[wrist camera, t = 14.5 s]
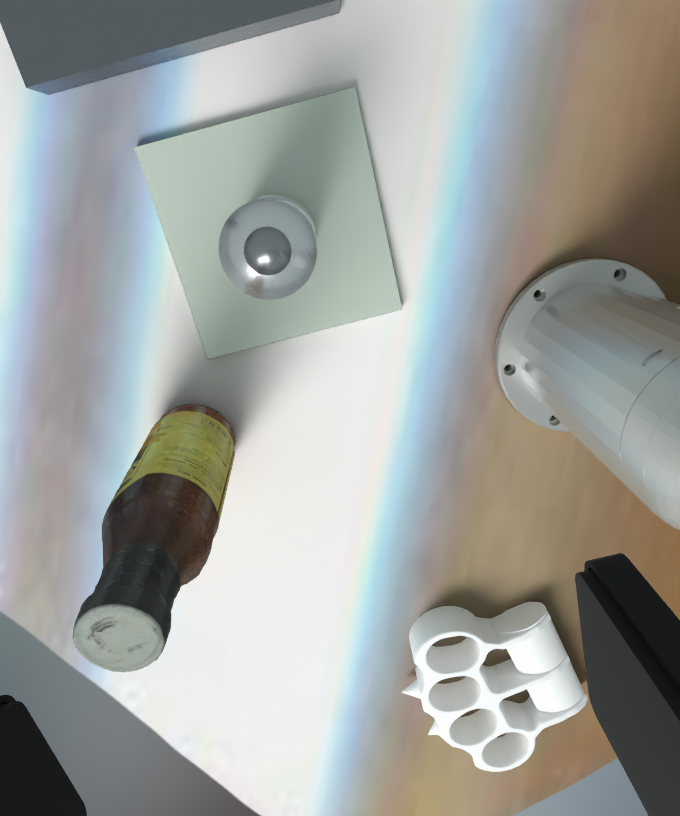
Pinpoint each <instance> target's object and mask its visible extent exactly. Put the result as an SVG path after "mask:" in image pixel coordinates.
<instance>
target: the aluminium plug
mask: <svg viewBox="0 0 680 816" xmlns="http://www.w3.org/2000/svg"><path fill="white" fill-rule="evenodd" d="M219 258H220V261H221V265H222V267H223V270H224V272H225V273H226V275H227V277H228V278H229V280H230V281H231V282H232V283H233V284H234V285H235V286H236V287H237V288H238V289H239V290H241V291H242V292H244V293H246V294H248V295H250V296H252V297H255V298H259V299H264V300H275V299H281V298H284V297H287V296H289V295H291V294H293V293H295V292H296V291H298V290H299V289H300V288H301V287H302V286H303V285H304V284H305V283H306V282H307V281H308V279H309V278H310V276H311V274H312V272H313V270H314V267H315V263H316V258H317V245H316V230H315V224H314V221H313V218H312V216H311V214H310V213H309V211H308V209H307V208H306V207H305V206H304V205H303V204H302V203H301V202H300V201H298V200H297V199H295V198H293V197H291V196H288V195H285V194H279V193H273V194H267V195H264V196H261V197H259V198H257V199H255V200H252V201H250V202H248V203H246V204H244V205H242V206H241V207H239V208H238V209H236V210H235V211H234V212H233V213H232V214H231V215H230V216H229V218H228V219H227V220H226V222H225V224H224V226H223V228H222V231H221V234H220V238H219Z"/></svg>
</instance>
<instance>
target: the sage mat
mask: <svg viewBox="0 0 680 816" xmlns="http://www.w3.org/2000/svg"><path fill="white" fill-rule="evenodd" d="M134 148H135V151H136V154H137V157H138V160H139V163H140V165H141V168H142V171H143V174H144V177H145V180H146V183H147V186H148V189H149V191H150V194H151V197H152V200H153V203H154V206H155V209H156V212H157V214H158V217H159V220H160V223H161V226H162V229H163V232H164V235H165V237H166V240H167V243H168V246H169V249H170V252H171V255H172V258H173V261H174V263H175V266H176V269H177V272H178V275H179V278H180V281H181V284H182V286H183V289H184V292H185V295H186V298H187V301H188V304H189V307H190V309H191V312H192V315H193V318H194V321H195V324H196V327H197V330H198V333H199V335H200V338H201V341H202V344H203V347H204V350H205V353H206V356H207V358H208V359H211V358H215V357H218V356H222V355H226V354H230V353H234V352H238V351H242V350H246V349H250V348H254V347H258V346H262V345H265V344H269V343H273V342H277V341H281V340H285V339H289V338H293V337H297V336H301V335H305V334H308V333H312V332H316V331H320V330H324V329H328V328H332V327H336V326H340V325H344V324H348V323H351V322H355V321H359V320H363V319H367V318H371V317H375V316H379V315H383V314H387V313H391V312H394V311H398V310H402V306H401V301H400V296H399V292H398V287H397V282H396V277H395V273H394V268H393V263H392V258H391V254H390V249H389V244H388V239H387V235H386V230H385V225H384V221H383V216H382V211H381V206H380V202H379V197H378V192H377V187H376V183H375V178H374V173H373V168H372V164H371V159H370V154H369V149H368V145H367V140H366V135H365V131H364V126H363V121H362V116H361V112H360V107H359V102H358V97H357V93H356V88H355V87H353V88H349V89H346V90H342V91H338V92H335V93H331V94H327V95H324V96H320V97H316V98H313V99H309V100H306V101H302V102H298V103H295V104H291V105H287V106H284V107H280V108H276V109H273V110H269V111H265V112H262V113H258V114H255V115H251V116H247V117H244V118H240V119H236V120H233V121H229V122H225V123H222V124H218V125H214V126H211V127H207V128H203V129H200V130H196V131H193V132H189V133H185V134H182V135H178V136H174V137H171V138H167V139H163V140H160V141H156V142H152V143H149V144H145V145H142V146H138V147H134ZM273 193H279V194H285V195H288V196H291V197H293V198H295V199H297V200H298V201H300V202H301V203H302V204H303V205H304V206H305V207H306V208H307V209H308V211H309V213H310V214H311V216H312V218H313V221H314V224H315V230H316V245H317V258H316V263H315V267H314V270H313V272H312V274H311V276H310V278H309V279H308V281H307V282H306V283H305V284H304V285H303V286H302V287H301V288H300V289H299V290H298V291H296V292H295V293H293V294H291V295H289V296H287V297H284V298H281V299H275V300H264V299H259V298H255V297H252V296H250V295H248V294H246V293H244V292H242V291H241V290H239V289H238V288H237V287H236V286H235V285H234V284H233V283H232V282H231V281H230V280H229V278H228V277H227V275H226V273H225V272H224V270H223V267H222V265H221V261H220V258H219V238H220V234H221V231H222V228H223V226H224V224H225V222H226V220H227V219H228V218H229V216H230V215H231V214H232V213H233V212H234V211H235V210H236V209H238V208H239V207H241V206H242V205H244V204H246V203H248V202H250V201H252V200H255V199H257V198H259V197H261V196H264V195H267V194H273Z"/></svg>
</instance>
